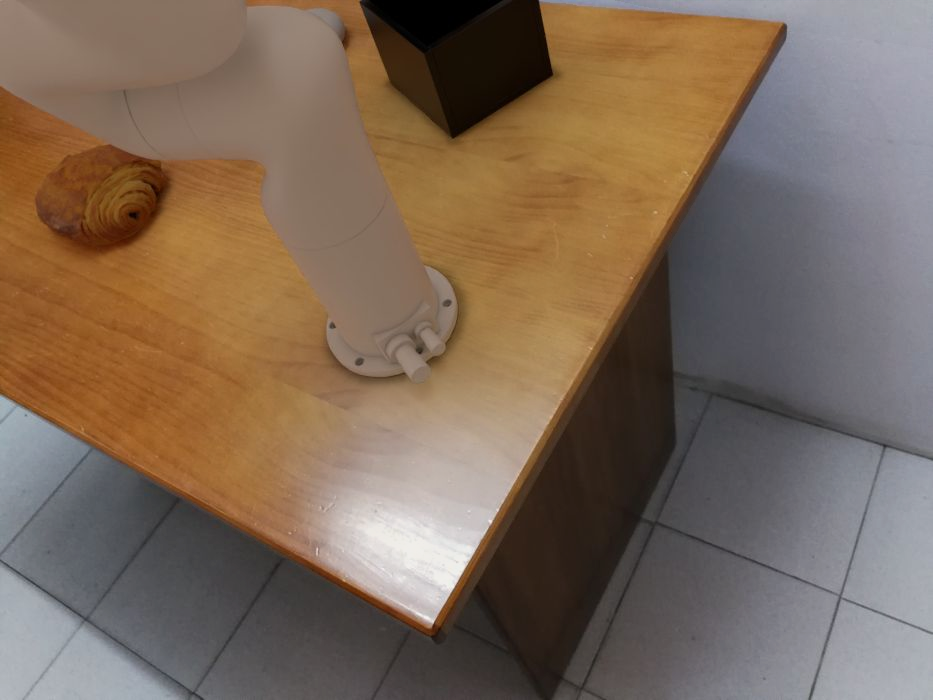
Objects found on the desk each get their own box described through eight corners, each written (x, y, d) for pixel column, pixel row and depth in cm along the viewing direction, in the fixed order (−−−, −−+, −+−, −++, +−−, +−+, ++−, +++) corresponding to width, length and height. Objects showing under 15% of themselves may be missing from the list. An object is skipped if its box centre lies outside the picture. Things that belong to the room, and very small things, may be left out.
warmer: (553, 75, 89) (536, -15, 80) (452, 138, 87) (424, 53, 78) (483, 26, 98) (461, -60, 89) (390, 83, 96) (358, 1, 87)
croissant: (113, 281, 91) (72, 239, 84) (36, 225, 97) (-8, 182, 90) (201, 195, 95) (169, 149, 88) (122, 147, 102) (86, 100, 95)
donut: (297, 27, 109) (265, 73, 104) (286, 4, 106) (253, 50, 101) (360, 25, 105) (330, 72, 100) (351, 1, 103) (320, 48, 98)
